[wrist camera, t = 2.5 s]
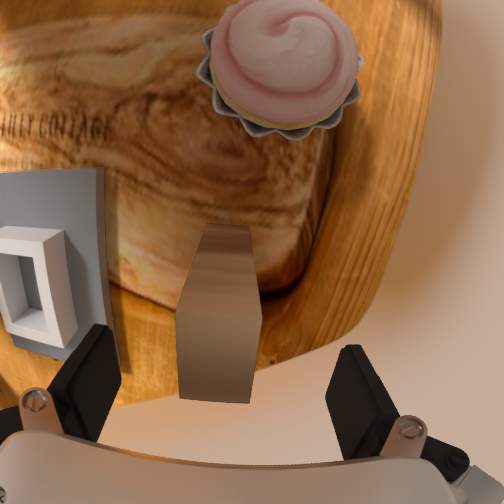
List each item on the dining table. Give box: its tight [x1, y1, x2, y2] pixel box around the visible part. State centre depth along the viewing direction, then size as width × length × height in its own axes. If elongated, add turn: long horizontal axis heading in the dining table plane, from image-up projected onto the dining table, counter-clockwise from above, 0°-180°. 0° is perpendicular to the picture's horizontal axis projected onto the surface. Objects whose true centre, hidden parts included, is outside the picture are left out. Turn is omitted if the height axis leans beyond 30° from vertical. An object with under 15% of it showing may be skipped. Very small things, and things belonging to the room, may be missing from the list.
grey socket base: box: [0, 167, 121, 366], centre depth 20 cm, size 18×13×4 cm
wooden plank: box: [175, 223, 262, 404], centre depth 16 cm, size 4×3×12 cm, turn 174°
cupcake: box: [195, 0, 364, 141], centre depth 13 cm, size 9×9×10 cm
